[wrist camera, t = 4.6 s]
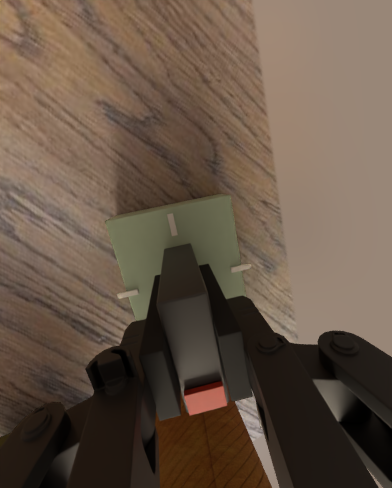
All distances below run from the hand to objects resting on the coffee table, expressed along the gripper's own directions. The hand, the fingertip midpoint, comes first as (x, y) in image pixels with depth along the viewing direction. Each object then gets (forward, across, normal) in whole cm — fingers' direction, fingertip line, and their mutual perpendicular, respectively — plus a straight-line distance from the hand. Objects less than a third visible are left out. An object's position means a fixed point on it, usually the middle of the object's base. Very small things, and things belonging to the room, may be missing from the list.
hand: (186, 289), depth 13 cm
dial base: (+4, 0, 0) cm, 4 cm away
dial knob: (+1, 0, 0) cm, 1 cm away
